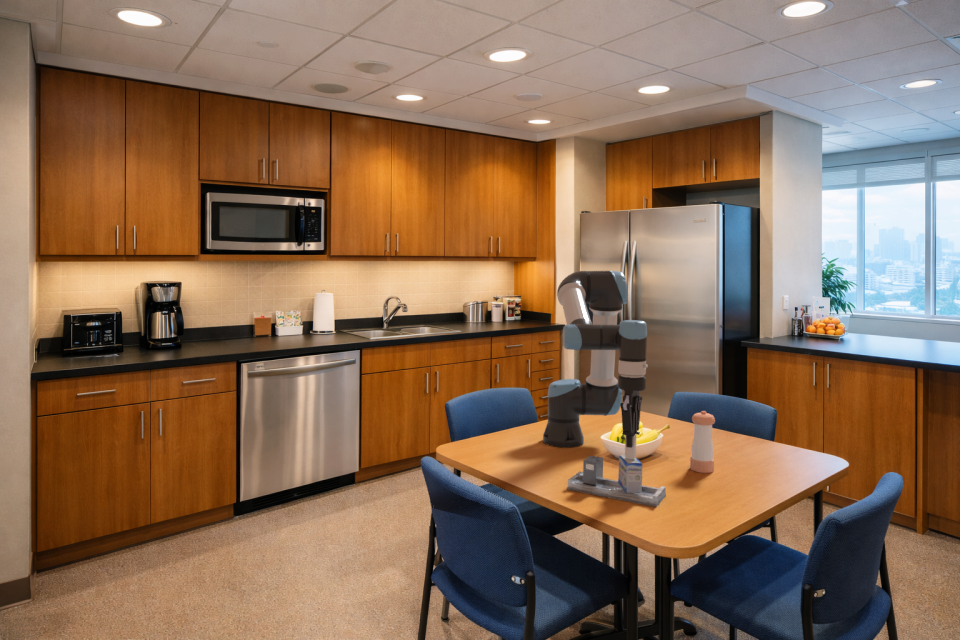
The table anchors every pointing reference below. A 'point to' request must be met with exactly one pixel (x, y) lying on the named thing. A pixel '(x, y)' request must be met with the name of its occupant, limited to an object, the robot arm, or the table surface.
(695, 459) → the pepper shaker
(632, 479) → the medicine box
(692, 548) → the table surface
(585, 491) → the rail
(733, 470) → the table surface
